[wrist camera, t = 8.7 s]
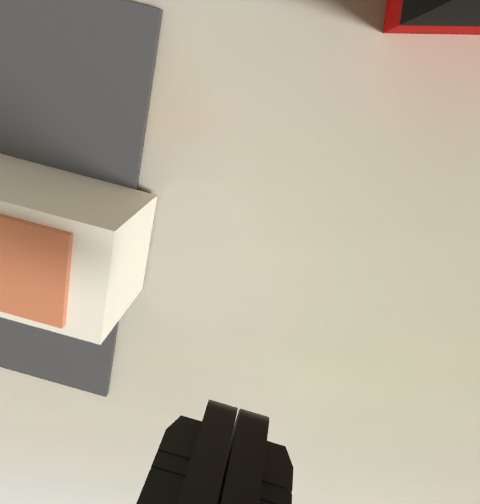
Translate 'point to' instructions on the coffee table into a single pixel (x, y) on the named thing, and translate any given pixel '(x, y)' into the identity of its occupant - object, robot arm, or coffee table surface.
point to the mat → (74, 133)
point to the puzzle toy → (433, 17)
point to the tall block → (70, 248)
